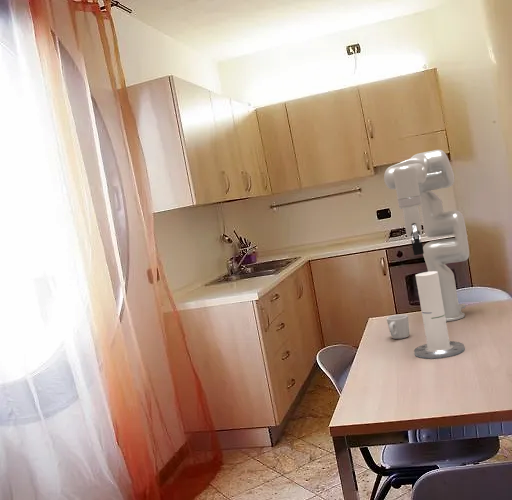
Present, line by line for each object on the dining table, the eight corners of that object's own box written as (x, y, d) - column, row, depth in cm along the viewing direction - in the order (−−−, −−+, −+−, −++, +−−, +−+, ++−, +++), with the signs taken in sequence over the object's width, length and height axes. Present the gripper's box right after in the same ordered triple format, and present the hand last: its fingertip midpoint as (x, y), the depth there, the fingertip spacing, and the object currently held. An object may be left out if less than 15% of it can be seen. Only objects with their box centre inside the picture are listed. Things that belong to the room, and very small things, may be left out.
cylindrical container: (432, 344, 210) (420, 272, 208) (453, 344, 205) (440, 270, 204) (424, 350, 204) (412, 276, 202) (445, 350, 200) (433, 274, 198)
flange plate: (435, 343, 216) (434, 339, 216) (474, 346, 203) (474, 342, 203) (404, 356, 206) (404, 352, 206) (444, 360, 193) (443, 356, 193)
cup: (403, 342, 225) (399, 320, 224) (383, 342, 230) (379, 321, 229) (414, 334, 233) (411, 313, 233) (395, 334, 238) (391, 314, 238)
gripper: (398, 203, 218) (406, 250, 219) (398, 206, 201) (407, 257, 202) (420, 199, 216) (428, 247, 217) (422, 202, 199) (431, 254, 201)
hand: (418, 252), depth 210 cm, fingers open, 9 cm apart
